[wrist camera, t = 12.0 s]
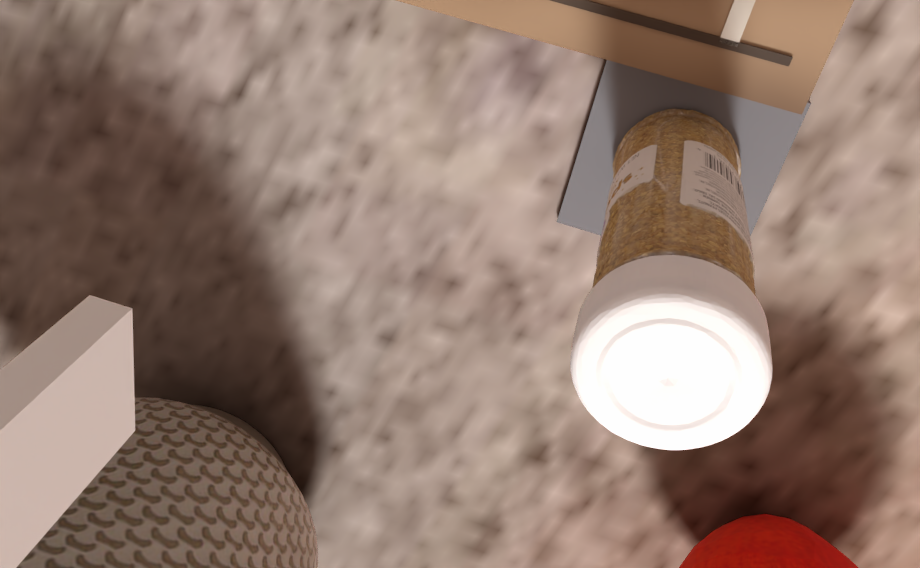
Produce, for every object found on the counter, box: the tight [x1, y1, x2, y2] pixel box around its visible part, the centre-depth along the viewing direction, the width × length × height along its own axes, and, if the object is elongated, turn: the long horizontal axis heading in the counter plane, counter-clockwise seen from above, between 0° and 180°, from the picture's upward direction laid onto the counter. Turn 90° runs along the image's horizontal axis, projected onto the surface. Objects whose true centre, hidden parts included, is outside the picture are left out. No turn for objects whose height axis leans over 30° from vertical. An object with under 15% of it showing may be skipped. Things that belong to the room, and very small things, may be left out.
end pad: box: [557, 60, 811, 236], centre depth 30 cm, size 7×7×1 cm
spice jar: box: [570, 109, 773, 450], centre depth 24 cm, size 5×5×13 cm
